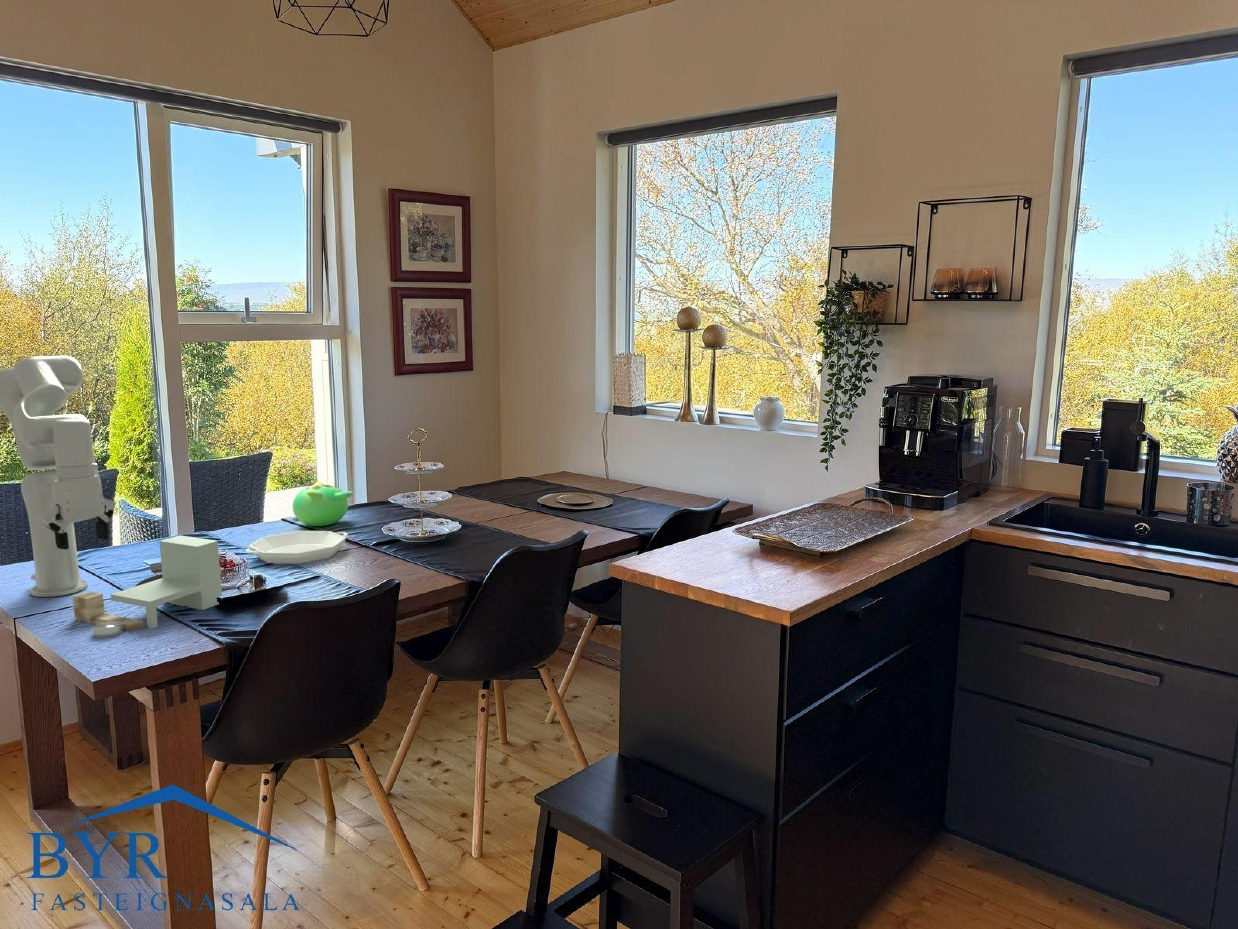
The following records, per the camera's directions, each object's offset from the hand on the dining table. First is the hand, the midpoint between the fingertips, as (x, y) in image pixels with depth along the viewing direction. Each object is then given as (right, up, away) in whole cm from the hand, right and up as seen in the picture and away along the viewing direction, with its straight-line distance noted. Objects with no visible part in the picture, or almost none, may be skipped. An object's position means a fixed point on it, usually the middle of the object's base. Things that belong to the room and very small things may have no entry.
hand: (83, 543), depth 206 cm
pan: (+29, -9, +58) cm, 66 cm away
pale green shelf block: (+16, -17, +8) cm, 25 cm away
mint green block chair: (+5, -13, +36) cm, 38 cm away
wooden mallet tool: (+6, -19, 0) cm, 20 cm away
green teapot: (+25, -2, +94) cm, 97 cm away
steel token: (+10, -20, -6) cm, 23 cm away
